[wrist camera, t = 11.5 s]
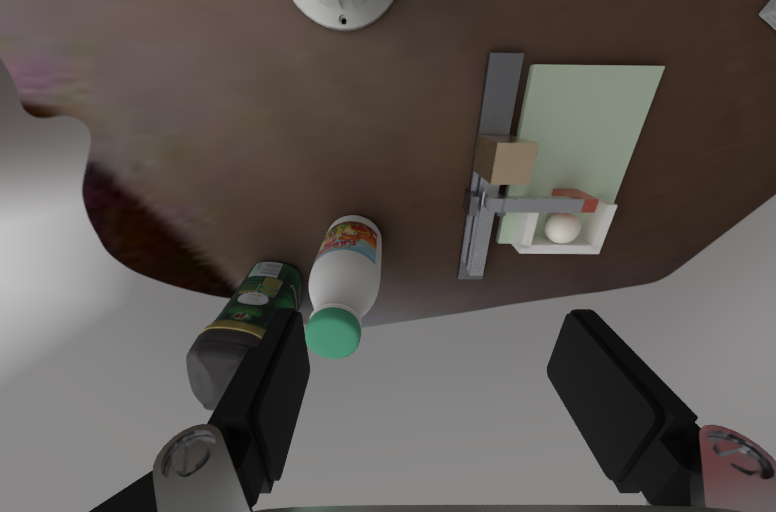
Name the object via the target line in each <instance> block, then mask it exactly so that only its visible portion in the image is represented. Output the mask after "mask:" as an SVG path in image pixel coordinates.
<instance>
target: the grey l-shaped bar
mask: <svg viewBox="0 0 776 512" xmlns="http://www.w3.org/2000/svg"><path fill="white" fill-rule="evenodd" d="M538 147H539V143H537V142H533V141H530V140H526V139H523V138H520V137H516V136H513V135H478V137H477V144H476V151H475V158H474V165H473V171H475V172H476V173H477V174H478V175H480V176H481V180H480V187H479V193H478V196H479V197H480V198H479V204H478V210H477V216H475V219H474V225H473V232H472V238H471V245H470V251H469V258H468V264H467V271H468V273H469V275H470V276H483V272H484V266H485V261H486V256H487V250H488V245H489V240H490V234H491V229H492V223H493V218H494V213H495V212H512V213H595V211H596V208H597V205H598V202H599V199H598V198H595V197H593V196H591V195H589V194H587V193H585V192H583V191H581V190H579V189H553V193H552V196H501V195H500V194H499V193H498V191H499V186H500V185H530V182H531V177H532V173H533V169H534V164H535V160H536V156H537V152H538Z"/></svg>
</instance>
